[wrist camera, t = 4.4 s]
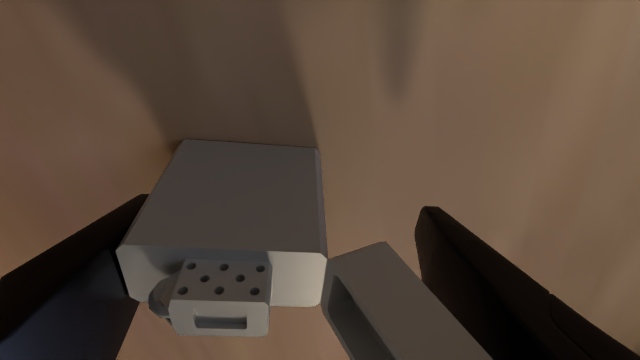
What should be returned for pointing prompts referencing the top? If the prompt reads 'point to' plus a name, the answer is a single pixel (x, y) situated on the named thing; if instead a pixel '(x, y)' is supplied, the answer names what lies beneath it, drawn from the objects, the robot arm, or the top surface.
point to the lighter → (273, 258)
